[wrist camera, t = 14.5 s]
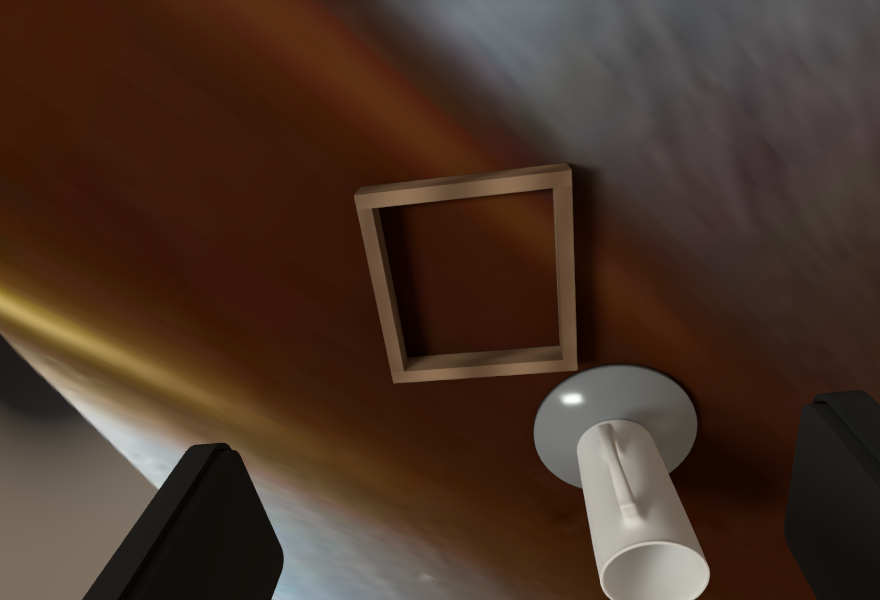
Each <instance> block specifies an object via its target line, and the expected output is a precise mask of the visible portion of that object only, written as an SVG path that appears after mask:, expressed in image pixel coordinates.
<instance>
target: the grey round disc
mask: <svg viewBox="0 0 880 600" xmlns="http://www.w3.org/2000/svg"><path fill="white" fill-rule="evenodd" d="M613 419H622V420H629V421H632V422H635V423H637V424H639V425H641V426H643V427H644V428H645V429H646V430H647V431H648V432H649V433H650V435H651V437H652V438H653V441H654V443H655V445H656V447H657V449H658V451H659V453H660V456H661V458H662V460H663V462H664V465H665V467H666V469H667V472H668V474H669V473H670V472H671V471H673V470H674V469H675V468H676V467H677V466H678V465H679V464H680V463H681V462H682V461H683V460H684V459H685V457H686V456H687V455H688V453H689V452H690V450H691V448H692V446H693V443H694V441H695V438H696V433H697V417H696V412H695V409H694V407H693V404H692V402H691V401H690V399H689V397H688V395H687V394H686V392H685V391H684V390H683V388H682V387H681V386H680V385H679V384H678V383H677V382H675V381H674V380H673V379H672V378H670V377H669V376H667V375H666V374H664V373H661V372H659V371H657V370H655V369H652V368H649V367H646V366H641V365H636V364H626V363H618V364H606V365H600V366H595V367H591V368H588V369H585V370H582V371H580V372H578V373H576V374H574V375H571V376H570V377H568V378H567V379H565V380H563V381H562V382H561V383H559V384H558V385H557V386H556V387H554V388H553V389H552V390H551V391H550V392H549V393H548V395H547V396H546V397H545V399H544V400H543V401H542V403H541V405H540V407H539V409H538V411H537V414H536V417H535V421H534V440H535V446H536V449H537V452H538V454H539V456H540V458H541V460H542V461H543V463H544V464H545V465H546V467H547V468H548V469H549V470H550V471H551V472H552V473H553V474H555V475H556V476H557V477H559V478H560V479H562V480H564V481H565V482H567V483H569V484H572V485H574V486H577V487H580V488H583V487H582V481H581V475H580V468H579V462H578V456H577V446H578V442H579V440H580V438H581V436H582V435H583V434H584V433H585V432H586V431H587V430H588V429H589V428H591V427H592V426H594V425H596V424H598V423H600V422H603V421H607V420H613Z"/></svg>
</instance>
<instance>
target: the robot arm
mask: <svg viewBox="0 0 880 600" xmlns="http://www.w3.org/2000/svg"><path fill="white" fill-rule="evenodd" d="M784 532H785V537H786V541H787V544H788V547H789V549H790V551H791V553H792V554H793V556H794V558H795V560H796V562H797V563H798V565H799V567H800V569H801V571H802V572H803V574H804V576H805V578H806V580H807V581H808V583H809V585H810V587H811V589H812V590H813V592H814V594H815V596H816V598H817V599H818V600H880V405H879V404H878V403H877V402H876V401H875V400H874V399H873V398H872V397H871V396H870V395H868V394H867V393H866V392H864V391H860V390H858V391H845V392H833V393H821V394H817V395H816V396H815V398H814V399H813V403H812V404H807V405H805V406H804V407H803V408H802V412H801V418H800V425H799V431H798V438H797V444H796V451H795V457H794V464H793V470H792V477H791V483H790V490H789V496H788V503H787V509H786V516H785V522H784ZM283 563H284V556H283V550H282V547H281V545H280V543H279V541H278V539H277V536H276V534H275V532H274V530H273V527H272V525H271V523H270V521H269V518H268V516H267V514H266V512H265V510H264V507H263V505H262V503H261V501H260V498H259V496H258V494H257V492H256V489H255V487H254V485H253V483H252V481H251V478H250V476H249V474H248V472H247V469H246V467H245V465H244V463H243V460H242V458H241V456H240V454H239V453H238V452H237V451H236V450H232V449H231V448H230V446H229V445H228V444H226V443H213V444H201V445H194V446H191V447H190V448H189V449H188V450H187V451H186V452H185V454H184V455H183V456H182V458H181V459H180V461H179V462H178V464H177V465H176V466H175V468H174V469H173V471H172V472H171V474H170V475H169V476H168V478H167V479H166V481H165V482H164V484H163V485H162V486H161V488H160V489H159V491H158V492H157V494H156V495H155V497H154V498H153V499H152V501H151V502H150V504H149V505H148V506H147V508H146V509H145V511H144V512H143V514H142V515H141V516H140V518H139V519H138V521H137V522H136V523H135V525H134V526H133V528H132V529H131V531H130V532H129V534H128V535H127V536H126V538H125V539H124V541H123V542H122V543H121V545H120V547H119V548H118V549H117V551H116V552H115V554H114V555H113V556H112V558H111V559H110V561H109V562H108V563H107V565H106V566H105V568H104V569H103V571H102V572H101V574H100V575H99V576H98V578H97V579H96V581H95V582H94V584H93V585H92V586H91V588H90V589H89V591H88V592H87V593H86V595H85V596H84V598H83V599H82V600H271V599H272V596H273V593H274V591H275V588H276V585H277V583H278V580H279V578H280V575H281V572H282V569H283Z"/></svg>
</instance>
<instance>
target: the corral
mask: <svg viewBox="0 0 880 600" xmlns="http://www.w3.org/2000/svg"><path fill="white" fill-rule="evenodd" d="M549 188H553V202H554V225H555V247H556V270H557V292H558V315H559V337H560V346H550V347H537V348H523V349H510V350H497V351H484V352H471V353H458V354H445V355H432V356H419V357H407V353H406V348H405V343H404V338H403V332H402V327H401V322H400V317H399V312H398V306H397V301H396V296H395V291H394V286H393V280H392V275H391V270H390V265H389V259H388V254H387V249H386V244H385V239H384V233H383V228H382V223H381V218H380V213H379V208H380V207H389V206H398V205H407V204H416V203H424V202H433V201H442V200H451V199H460V198H469V197H478V196H487V195H496V194H505V193H514V192H522V191H531V190H540V189H549ZM354 198H355V203H356V207H357V212H358V217H359V222H360V226H361V231H362V236H363V241H364V245H365V250H366V255H367V260H368V264H369V269H370V274H371V279H372V283H373V288H374V293H375V298H376V302H377V307H378V312H379V317H380V321H381V326H382V331H383V336H384V340H385V345H386V350H387V355H388V359H389V364H390V369H391V374H392V378H393V383H404V382H418V381H432V380H446V379H461V378H475V377H489V376H503V375H517V374H531V373H546V372H560V371H574V370H577V340H576V305H575V270H574V235H573V200H572V170H571V168H570V167H569V165H568V163H562V164H553V165H545V166H536V167H528V168H519V169H511V170H502V171H494V172H485V173H477V174H468V175H460V176H451V177H443V178H434V179H426V180H417V181H409V182H400V183H392V184H383V185H375V186H366V187H360V188H359V189H358V191H357V192H356V193H355V195H354Z"/></svg>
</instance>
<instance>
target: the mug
mask: <svg viewBox="0 0 880 600" xmlns="http://www.w3.org/2000/svg"><path fill="white" fill-rule="evenodd" d="M577 456H578V462H579V468H580V475H581V481H582V487H583V492H584V497H585V503H586V508H587V514H588V520H589V525H590V531H591V537H592V542H593V548H594V553H595V558H596V563H597V568H598V572H599V577H600V583H601V587H602V589H603V591H604V592H605V594H606V595H607V596H608V597H609V598H610V599H611V600H694V599H696V598H697V597H698V596H699V595H700V594H701V593H702V592H703V591H704V589H705V588H706V586H707V584H708V582H709V577H710V571H709V567H708V564H707V562H706V560H705V557H704V555H703V552H702V550H701V547H700V545H699V542H698V540H697V538H696V535H695V533H694V531H693V529H692V526H691V524H690V522H689V520H688V517H687V515H686V513H685V510H684V508H683V506H682V504H681V501H680V499H679V497H678V495H677V492H676V490H675V488H674V485H673V483H672V481H671V479H670V476H669V474H668V472H667V469H666V467H665V465H664V462H663V460H662V458H661V456H660V453H659V451H658V449H657V447H656V445H655V443H654V441H653V438H652V437H651V435H650V433H649V432H648V431H647V430H646V429H645V428H644V427H643V426H641V425H639V424H637V423H635V422H632V421H629V420H622V419H613V420H607V421H603V422H600V423H598V424H596V425H594V426H592V427H591V428H589V429H588V430H587V431H586V432H585V433H584V434H583V435H582V436H581V438H580V440H579V442H578V446H577Z"/></svg>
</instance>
